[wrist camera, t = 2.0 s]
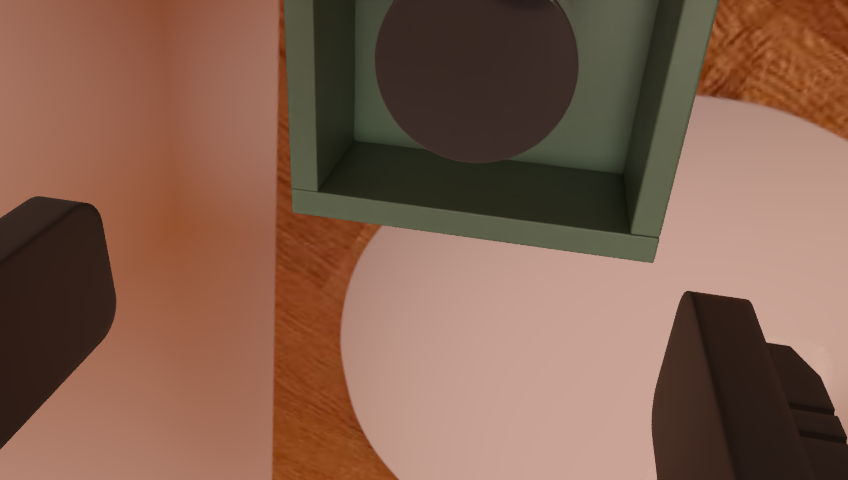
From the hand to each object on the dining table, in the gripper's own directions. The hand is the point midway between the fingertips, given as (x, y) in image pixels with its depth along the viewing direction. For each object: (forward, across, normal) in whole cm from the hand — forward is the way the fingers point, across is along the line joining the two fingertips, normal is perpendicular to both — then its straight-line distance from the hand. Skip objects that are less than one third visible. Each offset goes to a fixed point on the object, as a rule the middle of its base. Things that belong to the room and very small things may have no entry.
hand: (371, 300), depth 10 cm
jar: (+20, 0, 0) cm, 20 cm away
